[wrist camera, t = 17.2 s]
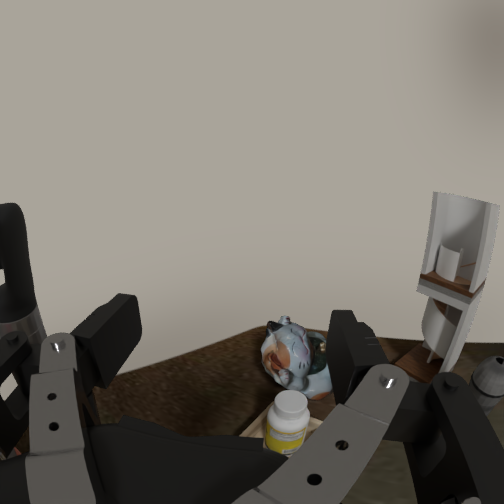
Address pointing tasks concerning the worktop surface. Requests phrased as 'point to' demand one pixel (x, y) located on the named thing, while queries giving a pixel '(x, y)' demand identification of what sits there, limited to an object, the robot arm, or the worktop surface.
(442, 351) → the white shelf stand
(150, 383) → the worktop surface
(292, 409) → the supplement bottle
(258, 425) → the birch dock
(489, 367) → the beverage cup
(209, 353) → the worktop surface
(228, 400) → the worktop surface
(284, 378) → the lucky cat figurine
